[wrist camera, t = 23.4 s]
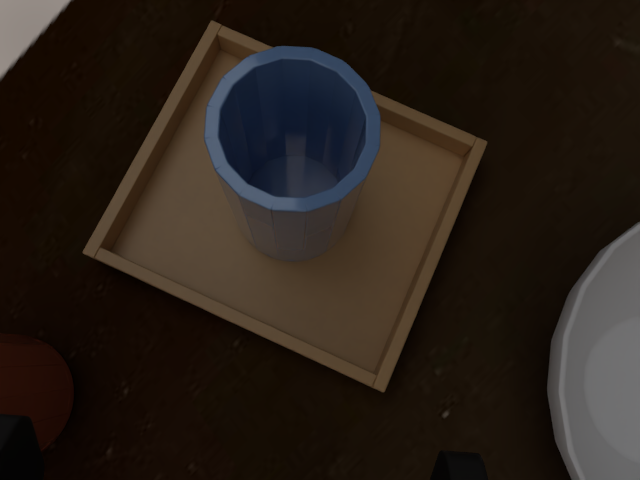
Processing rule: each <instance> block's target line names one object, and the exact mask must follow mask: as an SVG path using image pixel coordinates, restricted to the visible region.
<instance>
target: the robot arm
mask: <svg viewBox="0 0 640 480" xmlns="http://www.w3.org/2000/svg"><path fill="white" fill-rule="evenodd" d="M43 477H44V461H43V457H42V454H41V450H40V447H39V443H38V440H37V436H36V433H35V429H34V426H33V422H32V420H31V418H30V417H29V416H21V415H9V414H0V480H43ZM430 480H488V478H487V474H486V470H485V466H484V462H483V459H482V457H481V456H480V454H478V453H467V452H455V451H440V452H439V454H438V457H437V460H436V463H435V466H434V469H433V472H432V475H431V478H430Z"/></svg>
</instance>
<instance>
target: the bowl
mask: <svg viewBox="0 0 640 480" xmlns="http://www.w3.org/2000/svg"><path fill="white" fill-rule="evenodd" d="M547 394H548V400H549V406H550V412H551V419H552V425H553V431H554V438H555V442H556V444H557V447H558V449H559V451H560V454H561V456H562V458H563V461H564V463H565V465H566V468H567V470H568V472H569V475H570V477H571V479H572V480H640V222H638V223H637V224H635V225H634V226H633V227H631V228H630V229H629V230H627V231H626V232H625V233H623V234H622V235H621V236H619V237H618V238H617V239H615V240H614V241H613V242H611V243H610V244H609V245H607V246H606V247H605V248H603V249H602V250H601V251H599V253H598V254H597V255H596V257H595V258H594V259H593V261H592V262H591V263H590V265H589V266H588V267H587V269H586V270H585V272H584V273H583V274H582V276H581V277H580V278H579V280H578V281H577V282H576V284H575V285H574V286H573V288H572V289H571V291H570V293H569V294H568V296H567V299H566V301H565V304H564V307H563V310H562V312H561V315H560V318H559V321H558V323H557V326H556V329H555V332H554V334H553V337H552V340H551V348H550V360H549V371H548V382H547Z"/></svg>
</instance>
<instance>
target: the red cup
mask: <svg viewBox="0 0 640 480" xmlns="http://www.w3.org/2000/svg"><path fill="white" fill-rule="evenodd" d="M73 400H74V386H73V380H72V375H71V373H70V370H69V367H68V366H67V364H66V362H65V360H64V359H63V358H62V356H61V355H60V354H59V353H58V352H57V351H56V350H55V349H54V348H53V347H51V346H50V345H49V344H47V343H45V342H43V341H41V340H39V339H36V338H33V337H29V336H25V335H14V334H0V414H9V415H21V416H29V417H30V418H31V420H32V422H33V426H34V429H35V433H36V436H37V440H38V443H39V447H40V450H41V452H42V451H44V450H45V449H46V448H47V447H49V446H50V445H51V444H52V443H53V442H54V441H55V440H56V438H57V437H58V436H59V435H60V433H61V432H62V430H63V429H64V427H65V425H66V423H67V421H68V419H69V417H70V413H71V410H72V406H73Z"/></svg>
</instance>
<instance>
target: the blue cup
mask: <svg viewBox="0 0 640 480" xmlns="http://www.w3.org/2000/svg"><path fill="white" fill-rule="evenodd" d="M380 128H381V116H380V112H379V110H378V107H377V105H376V103H375V100H374V98H373V95H372V93H371V91H370V88H369V86H368V85H367V83H366V82H365V81H364V80H363V79H362V78H361V77H360V76H359V75H358V74H357V73H356V72H355V71H354V70H353V69H352V68H351V67H350V66H349V65H348V64H347V63H346V62H344V61H343V60H341V59H338V58H336V57H334V56H332V55H329V54H327V53H325V52H322V51H320V50H318V49H316V48H314V49H313V48H311V47H292V46H277V47H274V48H271V49H268V50H265V51H262V52H258V53H255V54H252V55H249V56H248V57H246V58H245V59H243V60H242V61H241V62H240V63H239V64H237V65H236V66H235V67H234V68H232V69H231V70H230V71H229V72H227V73H226V74H225V75H224V76H223V78H221V80H220V81H219V83H218V85H217V87H216V89H215V91H214V93H213V94H212V96H211V98H210V100H209V102H208V104H207V107H206V115H205V127H204V142H205V145H206V147H207V150H208V153H209V156H210V159H211V161H212V164H213V167H214V170H215V172H216V174H217V177H218V179H219V181H220V184H221V186H222V188H223V191H224V193H225V195H226V198H227V200H228V202H229V205H230V207H231V209H232V212H233V214H234V216H235V219H236V221H237V223H238V226H239V228H240V230H241V232H242V234H243V235H244V236H245V238H246V239H247V240H248V241H249V243H250V244H251V245H252V246H254V247H255V248H256V249H257V250H258V251H260V252H261V253H263V254H265V255H267V256H268V257H271V258H274V259H276V260H281V261H287V262H300V261H307V260H310V259H313V258H316V257H318V256H320V255H322V254H324V253H325V252H327V251H328V250H330V249H331V248H332V247H333V246H334V245H335V244H336V243H337V242H338V241H339V240H340V238H341V237H342V236H343V234H344V232H345V230H346V228H347V226H348V223H349V221H350V219H351V217H352V214H353V212H354V210H355V207H356V205H357V202H358V200H359V198H360V195H361V193H362V190H363V188H364V185H365V183H366V181H367V178H368V176H369V173H370V171H371V169H372V166H373V164H374V161H375V159H376V156H377V154H378V152H379V149H380Z"/></svg>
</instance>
